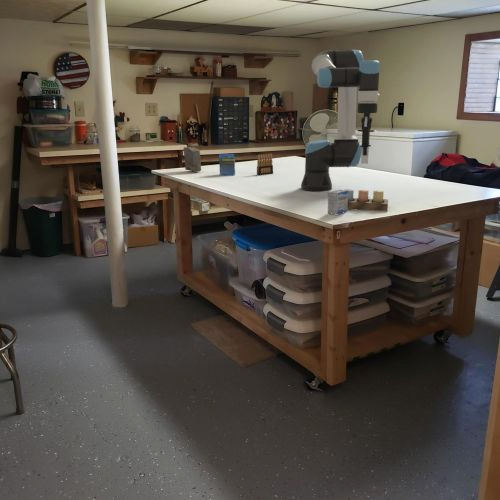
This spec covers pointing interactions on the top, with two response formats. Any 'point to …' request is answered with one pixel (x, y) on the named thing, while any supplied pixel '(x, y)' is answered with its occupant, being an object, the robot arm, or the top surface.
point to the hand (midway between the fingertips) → (364, 163)
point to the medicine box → (337, 201)
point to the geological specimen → (192, 159)
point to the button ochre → (378, 196)
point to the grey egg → (350, 194)
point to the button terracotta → (363, 196)
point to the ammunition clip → (264, 165)
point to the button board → (368, 205)
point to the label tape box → (227, 164)
